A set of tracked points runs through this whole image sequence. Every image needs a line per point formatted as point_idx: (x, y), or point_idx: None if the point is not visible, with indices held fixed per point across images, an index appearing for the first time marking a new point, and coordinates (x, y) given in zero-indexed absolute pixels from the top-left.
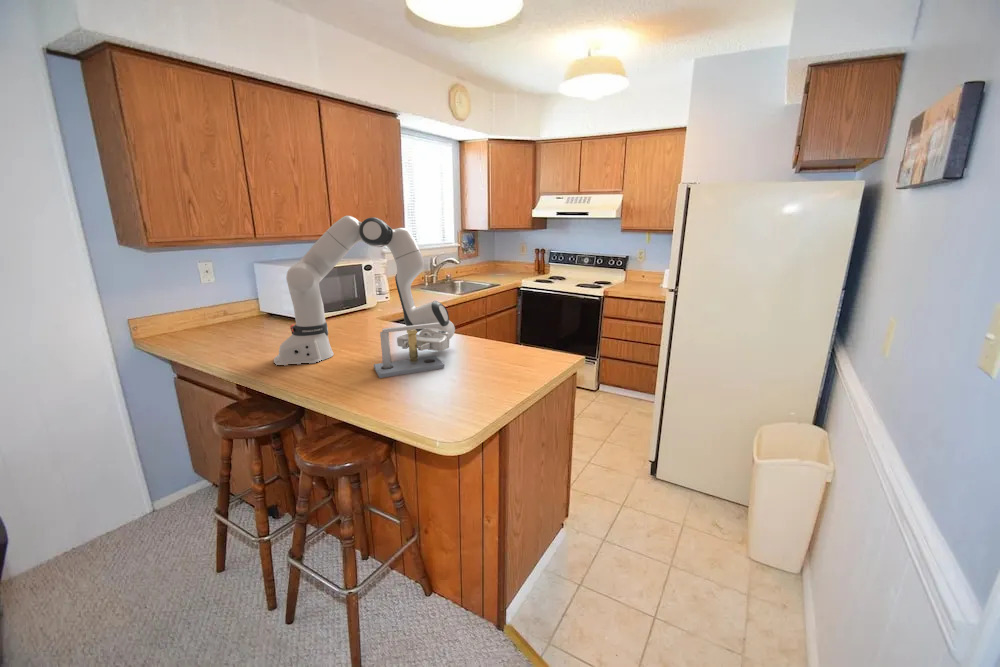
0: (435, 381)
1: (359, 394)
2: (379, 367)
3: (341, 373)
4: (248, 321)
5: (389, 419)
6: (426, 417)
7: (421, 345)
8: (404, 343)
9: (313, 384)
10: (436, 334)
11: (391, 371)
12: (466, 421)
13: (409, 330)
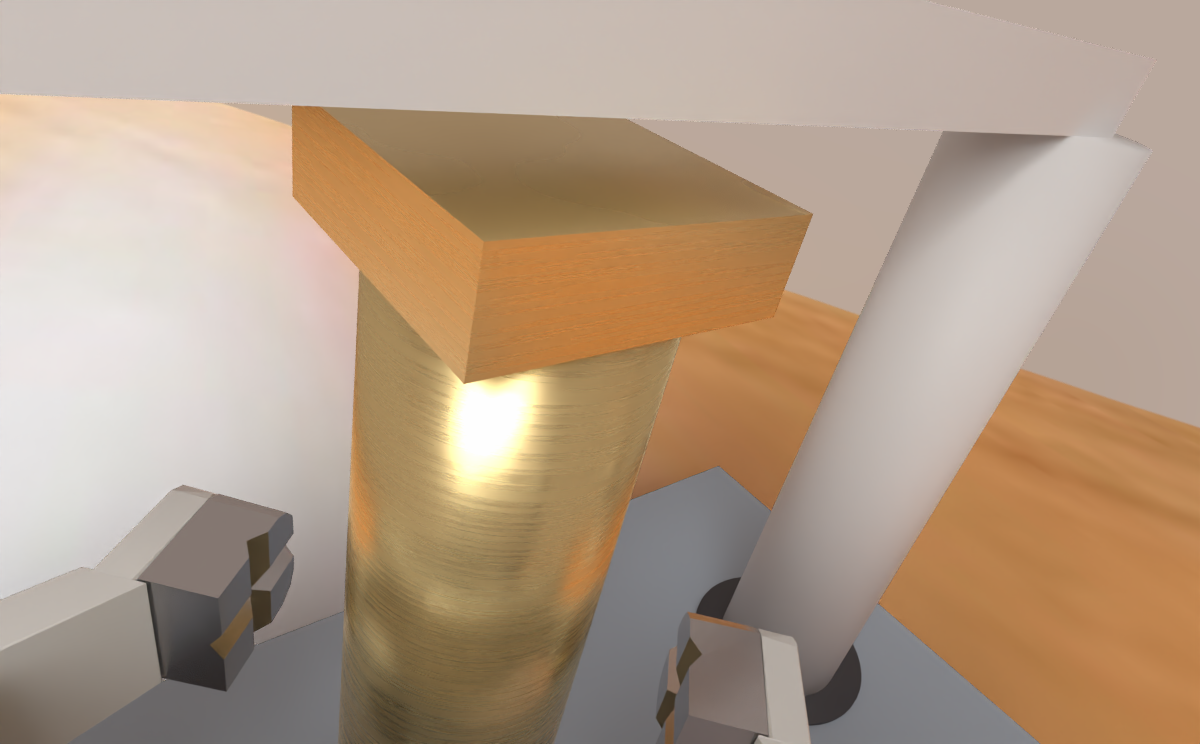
0: (57, 431)
1: None
2: (871, 638)
3: (1160, 618)
4: None
5: None
6: (196, 144)
7: (176, 546)
8: (790, 714)
9: (1062, 434)
10: None
11: (634, 521)
12: None
13: (644, 159)
